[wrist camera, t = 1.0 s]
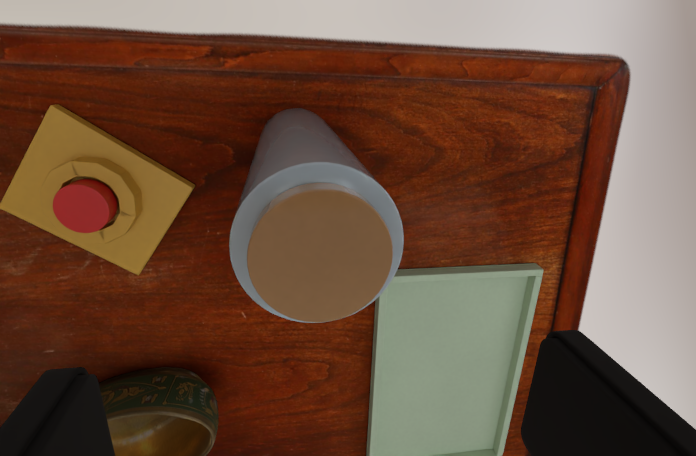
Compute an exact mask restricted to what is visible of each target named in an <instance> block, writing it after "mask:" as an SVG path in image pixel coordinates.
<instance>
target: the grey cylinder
mask: <svg viewBox="0 0 696 456" xmlns="http://www.w3.org/2000/svg"><path fill="white" fill-rule="evenodd" d="M403 244H404V234H403V226H402V221H401V218H400V215H399V212H398V209H397V207H396V205H395V203H394V201H393V200H392V199H391V197H390V196H389V194H388V193H387V192H386V191H385V189H384V188H383V187H382V186H381V185H380V184H379V183H378V181H377V180H376V179H375V178H374V177H373V176H372V175H371V174H370V172H369V171H368V170H367V169H366V168H365V167H364V166H363V164H362V163H361V162H360V161H359V160H358V159H357V158H356V157H355V155H354V154H353V153H352V152H351V151H350V150H349V149H348V147H347V146H346V145H345V144H344V143H343V142H342V141H341V140H340V138H339V137H338V136H337V135H336V134H335V133H334V132H333V131H332V129H331V128H330V127H329V126H328V125H327V124H326V123H325V121H324V120H323V119H322V118H321V117H319V116H318V115H317V114H315V113H313V112H311V111H309V110H305V109H300V108H292V109H287V110H283V111H281V112H279V113H277V114H275V115H274V116H273V117H272V118H271V119H270V120H269V121H268V122H267V123H266V125H265V126H264V128H263V130H262V133H261V136H260V139H259V142H258V145H257V148H256V152H255V155H254V158H253V161H252V164H251V167H250V170H249V173H248V177H247V180H246V183H245V186H244V189H243V192H242V195H241V198H240V201H239V205H238V208H237V211H236V214H235V217H234V220H233V223H232V228H231V232H230V241H229V250H230V258H231V263H232V267H233V270H234V272H235V275H236V277H237V279H238V281H239V283H240V284H241V286H242V287H243V289H244V290H245V291H246V293H247V294H248V295H249V296H250V297H251V298H252V299H253V300H254V301H255V302H256V303H258V304H259V305H260V306H261V307H263V308H264V309H266V310H268V311H269V312H271V313H273V314H275V315H277V316H280V317H282V318H285V319H289V320H292V321H298V322H306V323H320V322H329V321H334V320H338V319H341V318H345V317H347V316H350V315H352V314H354V313H356V312H358V311H360V310H362V309H363V308H365V307H366V306H368V305H369V304H371V303H372V302H373V301H374V300H375V299H377V298H378V297H379V296H380V295H381V294H382V292H383V291H384V290H385V289H386V288H387V286H388V285H389V284H390V282H391V281H392V279H393V277H394V275H395V273H396V272H397V269H398V266H399V264H400V261H401V257H402V253H403Z"/></svg>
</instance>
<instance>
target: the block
mask: <svg viewBox="0 0 696 456" xmlns="http://www.w3.org/2000/svg"><path fill="white" fill-rule="evenodd" d="M80 179H91V180H95V181H98V182H100V183H102V184H104V185H106V186H107V187H108V188H109V189H110V190H111V191H112V192H113V194H114V196H115V198H116V201H117V212H116V214H115V216H114V218H113V219H112V220H111V221H110V222H108V223H107V224H106V225H105V226H104V227H103V228H101V229H100V230H98V231H96V232H92V233H79V232H75V231H73V230H70V229H68V228H67V227H65V226H64V225H63V224H61V223H60V221H59V220H58V219H57V218H56V216H55V214H54V211H53V199H54V196H55V195H56V193H57V192H58V191H59V190H60V189H61V188H63V187H65V186H67V185H69V184H70V183H72V182H74V181H77V180H80ZM194 187H195V184H193V183H191V182H190V181H188V180H186V179H184V178H183V177H181V176H179V175H178V174H176V173H174V172H173V171H171V170H169V169H167V168H166V167H164V166H162V165H161V164H159V163H157V162H156V161H154V160H152V159H150V158H149V157H147V156H145V155H144V154H142V153H140V152H139V151H137V150H135V149H133V148H132V147H130V146H128V145H127V144H125V143H123V142H122V141H120V140H118V139H116V138H115V137H113V136H111V135H110V134H108V133H106V132H105V131H103V130H101V129H99V128H98V127H96V126H94V125H93V124H91V123H89V122H88V121H86V120H84V119H82V118H81V117H79V116H77V115H76V114H74V113H72V112H71V111H69V110H67V109H65V108H64V107H62V106H60V105H59V104H56V105H50V107H49V109H48V111H47V113H46V115H45V117H44V119H43V121H42V123H41V125H40V127H39V129H38V131H37V132H36V134H35V136H34V138H33V140H32V142H31V144H30V146H29V148H28V150H27V152H26V154H25V156H24V158H23V160H22V162H21V164H20V166H19V168H18V170H17V172H16V174H15V176H14V178H13V180H12V182H11V184H10V185H9V187H8V189H7V191H6V193H5V195H4V197H3V199H2V201H1V203H0V209H2V210H4V211H6V212H9V213H11V214H13V215H15V216H17V217H19V218H21V219H23V220H25V221H27V222H29V223H31V224H33V225H35V226H37V227H39V228H42V229H44V230H46V231H48V232H50V233H52V234H54V235H56V236H58V237H60V238H62V239H64V240H66V241H68V242H70V243H73V244H75V245H77V246H79V247H81V248H83V249H85V250H87V251H89V252H91V253H93V254H95V255H97V256H99V257H101V258H103V259H106V260H108V261H110V262H112V263H114V264H116V265H118V266H120V267H122V268H124V269H126V270H128V271H130V272H132V273H134V274H136V275H139V274H140V273H141V272H142V270H143V269H144V267H145V265H146V264H147V262H148V261H149V259H150V257H151V256H152V254H153V253H154V251H155V249H156V248H157V246H158V245H159V243H160V241H161V240H162V238H163V237H164V235H165V233H166V232H167V230H168V229H169V227H170V225H171V224H172V222H173V221H174V219H175V217H176V216H177V214H178V213H179V211H180V209H181V208H182V206H183V205H184V203H185V202H186V200H187V198H188V197H189V195H190V194H191V192H192V190H193V189H194Z"/></svg>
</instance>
